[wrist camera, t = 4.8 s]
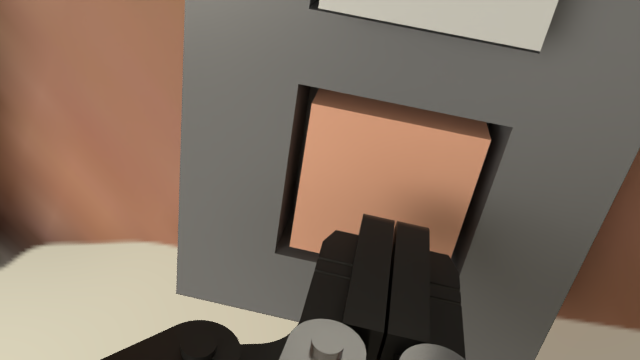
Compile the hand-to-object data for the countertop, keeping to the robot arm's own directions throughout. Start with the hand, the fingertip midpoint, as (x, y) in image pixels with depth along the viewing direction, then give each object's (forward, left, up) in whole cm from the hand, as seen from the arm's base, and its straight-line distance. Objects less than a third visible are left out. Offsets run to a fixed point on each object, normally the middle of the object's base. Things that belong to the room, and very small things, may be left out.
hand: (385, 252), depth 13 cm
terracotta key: (0, 0, -5) cm, 5 cm away
